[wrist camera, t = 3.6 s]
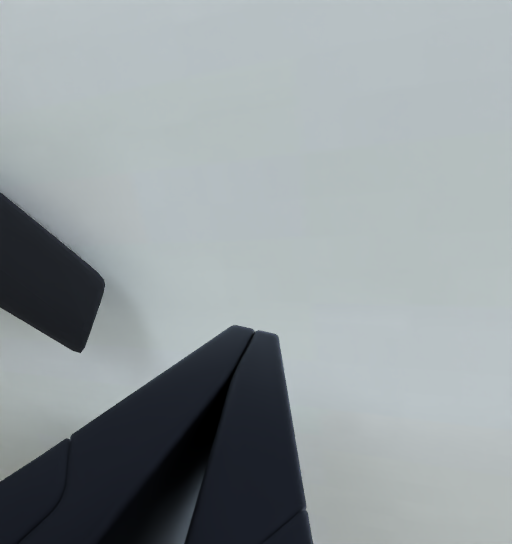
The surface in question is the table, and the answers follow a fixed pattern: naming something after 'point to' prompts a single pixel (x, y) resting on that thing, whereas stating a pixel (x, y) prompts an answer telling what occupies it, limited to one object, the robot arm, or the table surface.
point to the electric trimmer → (45, 280)
